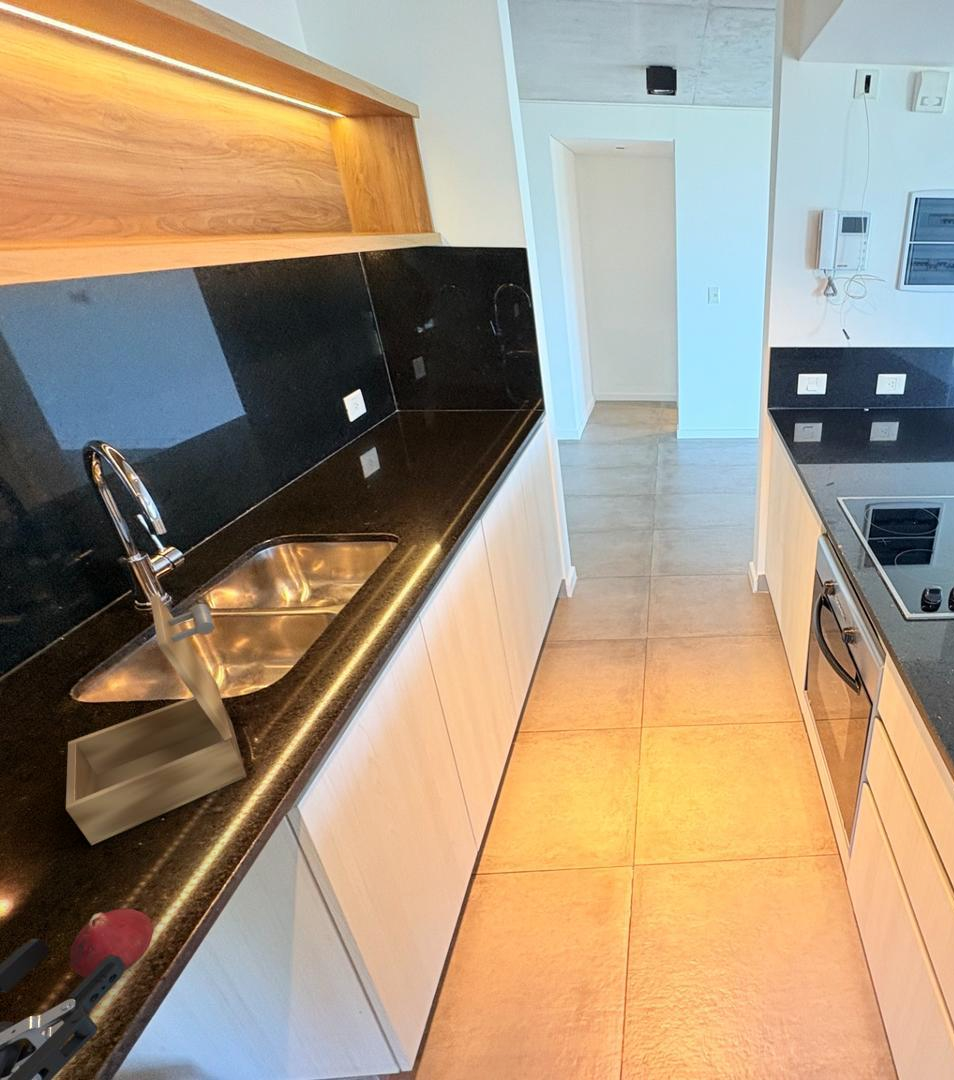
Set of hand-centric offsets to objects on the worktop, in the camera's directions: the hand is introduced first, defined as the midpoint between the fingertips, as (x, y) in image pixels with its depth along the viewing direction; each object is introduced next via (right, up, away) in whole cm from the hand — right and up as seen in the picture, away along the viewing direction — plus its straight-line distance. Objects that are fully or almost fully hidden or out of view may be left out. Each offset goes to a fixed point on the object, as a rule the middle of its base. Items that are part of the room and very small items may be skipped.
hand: (80, 951), depth 58 cm
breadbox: (-14, +7, +25) cm, 29 cm away
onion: (0, -4, +5) cm, 6 cm away
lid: (-9, +22, +22) cm, 32 cm away
